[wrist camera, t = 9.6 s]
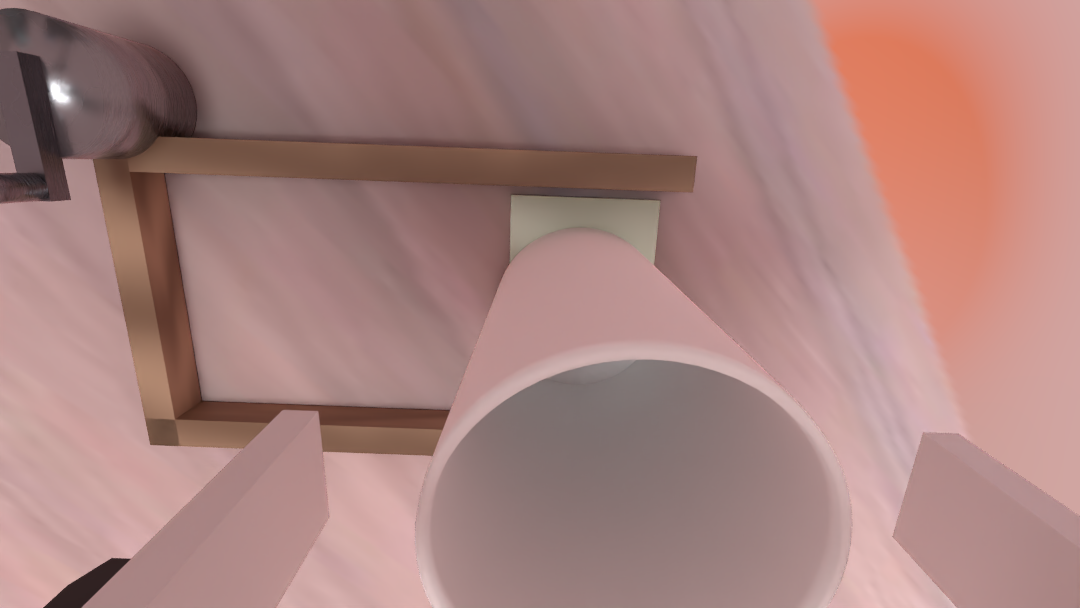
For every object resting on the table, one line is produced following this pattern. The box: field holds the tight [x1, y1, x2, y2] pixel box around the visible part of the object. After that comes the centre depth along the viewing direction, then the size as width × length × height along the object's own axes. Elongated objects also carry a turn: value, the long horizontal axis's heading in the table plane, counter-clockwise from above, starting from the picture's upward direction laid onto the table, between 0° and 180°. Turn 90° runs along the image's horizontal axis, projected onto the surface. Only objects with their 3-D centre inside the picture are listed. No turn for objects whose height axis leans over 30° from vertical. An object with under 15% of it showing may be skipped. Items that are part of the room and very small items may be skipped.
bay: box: [93, 137, 697, 456], centre depth 24 cm, size 15×26×2 cm, turn 88°
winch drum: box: [0, 8, 197, 204], centre depth 19 cm, size 6×5×8 cm
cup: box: [415, 228, 852, 608], centre depth 17 cm, size 8×8×16 cm
